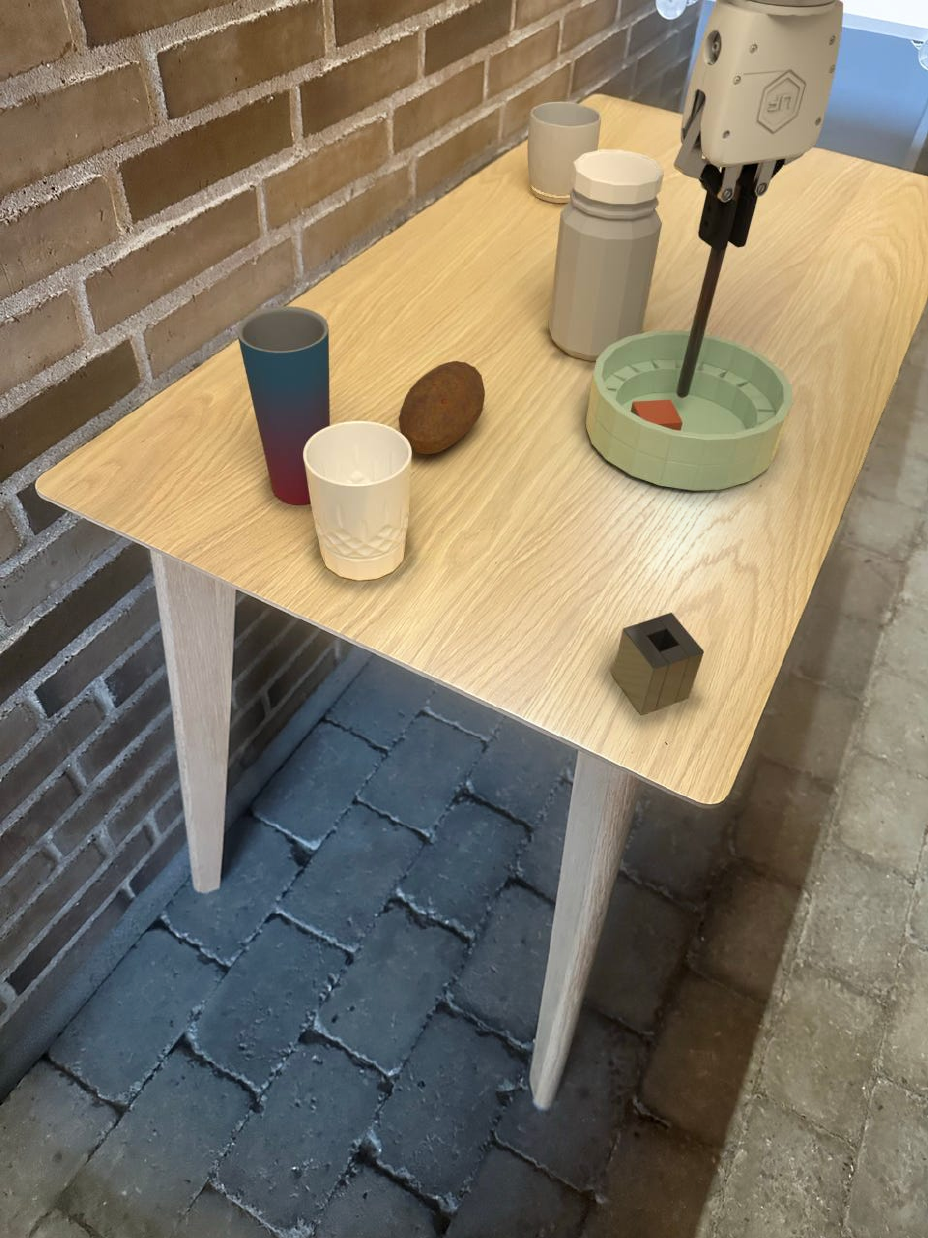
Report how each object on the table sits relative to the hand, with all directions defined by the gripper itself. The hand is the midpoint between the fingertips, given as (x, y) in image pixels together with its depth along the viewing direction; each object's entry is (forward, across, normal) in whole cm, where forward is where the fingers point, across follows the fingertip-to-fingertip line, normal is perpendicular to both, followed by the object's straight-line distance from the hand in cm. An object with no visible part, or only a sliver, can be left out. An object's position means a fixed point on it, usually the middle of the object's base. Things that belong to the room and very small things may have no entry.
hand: (721, 240), depth 77 cm
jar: (+18, 0, +16) cm, 24 cm away
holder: (+18, -20, -27) cm, 38 cm away
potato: (+18, -22, +6) cm, 29 cm away
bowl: (+18, -1, -2) cm, 18 cm away
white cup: (+18, -34, -6) cm, 39 cm away
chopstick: (+15, 0, 0) cm, 15 cm away
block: (+17, -5, -3) cm, 18 cm away
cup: (+18, -36, +4) cm, 40 cm away
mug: (+18, +16, +52) cm, 57 cm away
